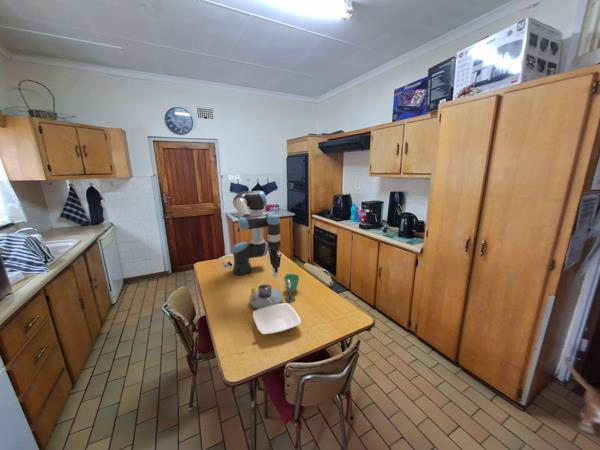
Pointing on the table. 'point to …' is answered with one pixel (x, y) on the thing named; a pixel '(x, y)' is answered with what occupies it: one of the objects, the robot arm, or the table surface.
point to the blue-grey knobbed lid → (265, 299)
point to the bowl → (276, 318)
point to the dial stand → (290, 297)
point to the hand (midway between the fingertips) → (275, 276)
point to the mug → (292, 281)
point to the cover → (264, 291)
